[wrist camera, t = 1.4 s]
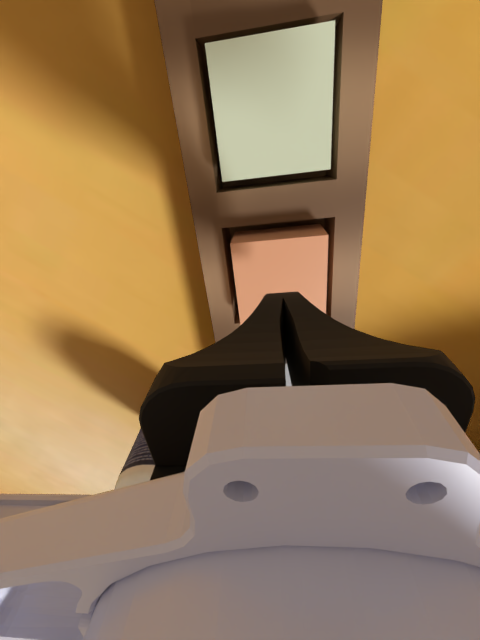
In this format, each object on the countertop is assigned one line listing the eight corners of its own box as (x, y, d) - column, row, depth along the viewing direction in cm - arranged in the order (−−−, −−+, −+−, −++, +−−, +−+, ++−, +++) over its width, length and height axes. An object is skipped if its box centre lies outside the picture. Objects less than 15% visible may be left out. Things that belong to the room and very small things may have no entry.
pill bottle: (137, 411, 26) (74, 538, 17) (179, 381, 24) (130, 509, 15) (183, 445, 27) (145, 576, 19) (225, 420, 25) (204, 554, 17)
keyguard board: (131, -252, 10) (83, -395, 7) (381, -329, 9) (428, -527, 6) (234, 395, 24) (230, 425, 21) (336, 392, 23) (346, 423, 20)
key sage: (215, 62, 12) (204, 43, 10) (323, 43, 12) (335, 20, 10) (228, 177, 14) (222, 181, 12) (321, 167, 14) (330, 169, 12)
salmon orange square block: (234, 231, 16) (230, 243, 14) (320, 223, 15) (328, 234, 13) (243, 306, 18) (240, 326, 16) (318, 301, 17) (325, 321, 15)
